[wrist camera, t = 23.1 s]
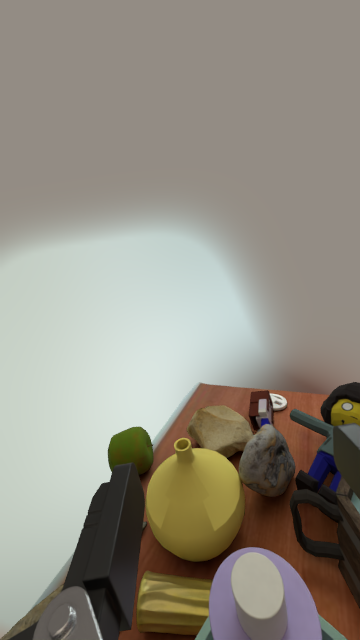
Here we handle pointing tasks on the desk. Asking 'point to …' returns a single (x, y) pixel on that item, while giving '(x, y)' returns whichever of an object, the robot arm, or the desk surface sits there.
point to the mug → (353, 531)
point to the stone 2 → (267, 462)
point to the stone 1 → (220, 430)
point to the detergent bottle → (261, 600)
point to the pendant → (279, 400)
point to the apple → (131, 449)
